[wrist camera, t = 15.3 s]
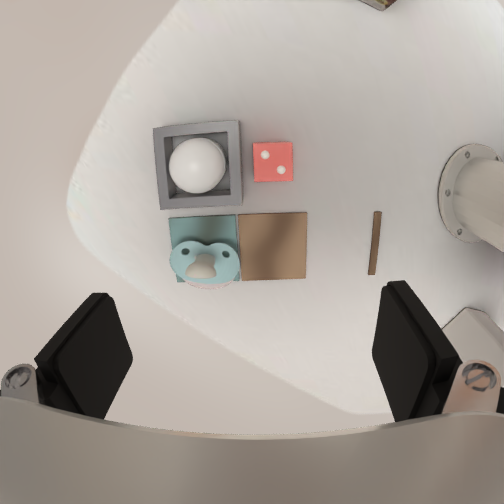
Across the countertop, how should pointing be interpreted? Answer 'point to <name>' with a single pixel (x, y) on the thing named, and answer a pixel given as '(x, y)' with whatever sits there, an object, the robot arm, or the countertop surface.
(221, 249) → the pacifier
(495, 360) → the soap bottle
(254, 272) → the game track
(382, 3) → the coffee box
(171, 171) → the popper dome
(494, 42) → the countertop surface
